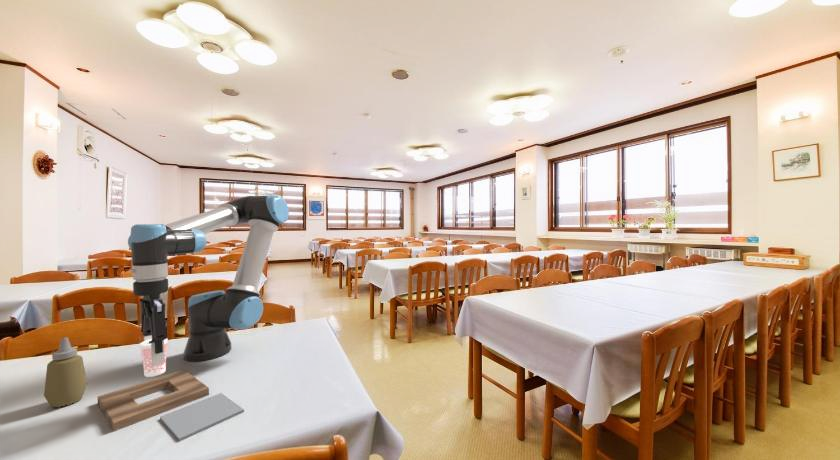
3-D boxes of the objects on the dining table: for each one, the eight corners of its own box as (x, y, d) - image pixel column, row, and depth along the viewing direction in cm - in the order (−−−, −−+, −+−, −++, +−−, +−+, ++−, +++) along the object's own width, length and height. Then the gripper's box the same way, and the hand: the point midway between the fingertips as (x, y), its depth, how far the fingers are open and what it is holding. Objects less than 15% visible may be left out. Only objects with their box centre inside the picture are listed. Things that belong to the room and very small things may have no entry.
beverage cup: (173, 370, 92) (171, 321, 91) (148, 380, 86) (145, 328, 86) (161, 366, 95) (159, 319, 94) (136, 375, 89) (133, 325, 88)
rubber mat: (160, 419, 81) (160, 416, 81) (221, 394, 92) (221, 392, 92) (179, 441, 72) (179, 438, 72) (243, 411, 84) (243, 409, 84)
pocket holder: (97, 403, 88) (97, 396, 88) (184, 375, 104) (183, 369, 104) (114, 431, 76) (113, 422, 76) (208, 394, 92) (208, 387, 92)
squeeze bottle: (65, 395, 93) (63, 333, 92) (95, 393, 93) (93, 332, 93) (34, 411, 85) (32, 344, 84) (67, 410, 85) (65, 342, 85)
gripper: (124, 278, 92) (128, 357, 93) (143, 285, 81) (147, 375, 82) (157, 274, 98) (160, 348, 99) (178, 280, 87) (182, 364, 88)
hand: (154, 360), depth 90 cm, fingers closed on beverage cup, 6 cm apart
